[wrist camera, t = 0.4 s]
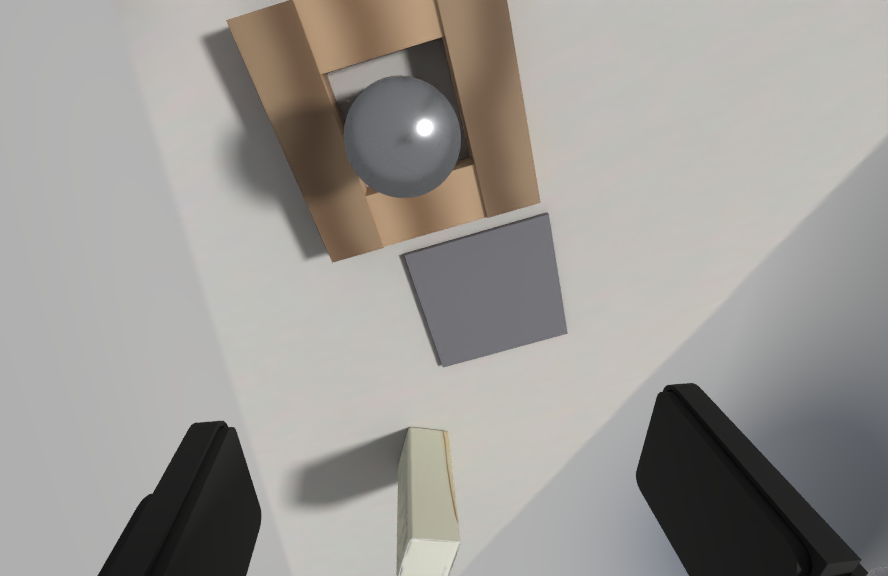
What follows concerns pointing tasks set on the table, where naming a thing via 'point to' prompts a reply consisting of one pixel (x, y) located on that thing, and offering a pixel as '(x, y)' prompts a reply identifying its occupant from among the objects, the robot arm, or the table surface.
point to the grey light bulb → (402, 136)
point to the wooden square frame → (322, 128)
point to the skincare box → (426, 506)
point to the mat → (490, 290)
